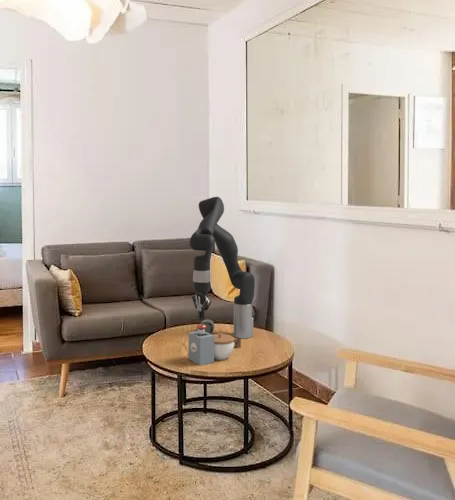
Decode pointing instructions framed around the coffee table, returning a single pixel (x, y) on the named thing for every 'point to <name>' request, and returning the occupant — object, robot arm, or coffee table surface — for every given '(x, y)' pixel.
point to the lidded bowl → (223, 346)
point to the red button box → (201, 348)
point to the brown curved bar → (237, 342)
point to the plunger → (201, 329)
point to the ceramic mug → (207, 326)
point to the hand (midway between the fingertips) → (201, 319)
